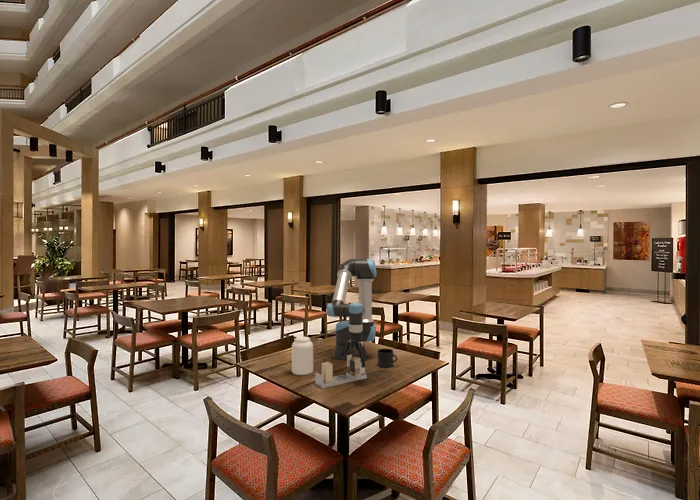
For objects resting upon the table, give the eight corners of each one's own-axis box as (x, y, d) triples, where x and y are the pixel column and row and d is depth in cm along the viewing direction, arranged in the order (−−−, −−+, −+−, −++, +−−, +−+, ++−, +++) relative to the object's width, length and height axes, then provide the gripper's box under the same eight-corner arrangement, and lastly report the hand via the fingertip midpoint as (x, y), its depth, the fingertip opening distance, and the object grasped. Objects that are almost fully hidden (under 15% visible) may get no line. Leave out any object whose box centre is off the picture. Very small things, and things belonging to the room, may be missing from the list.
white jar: (295, 376, 209) (295, 341, 209) (288, 370, 220) (288, 336, 220) (316, 373, 215) (316, 338, 215) (308, 367, 226) (308, 334, 226)
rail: (315, 384, 198) (315, 363, 198) (359, 374, 213) (359, 355, 212) (321, 388, 192) (321, 367, 192) (366, 378, 207) (366, 358, 206)
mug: (395, 369, 222) (395, 353, 222) (376, 367, 226) (376, 352, 226) (398, 364, 231) (398, 349, 231) (379, 362, 235) (379, 348, 235)
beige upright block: (361, 375, 206) (361, 358, 206) (354, 376, 203) (354, 360, 203) (356, 372, 210) (356, 356, 210) (349, 374, 208) (349, 357, 208)
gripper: (338, 327, 215) (338, 364, 216) (362, 337, 194) (362, 377, 194) (349, 326, 219) (349, 362, 220) (374, 335, 198) (374, 374, 198)
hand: (355, 369), depth 207 cm, fingers open, 13 cm apart
